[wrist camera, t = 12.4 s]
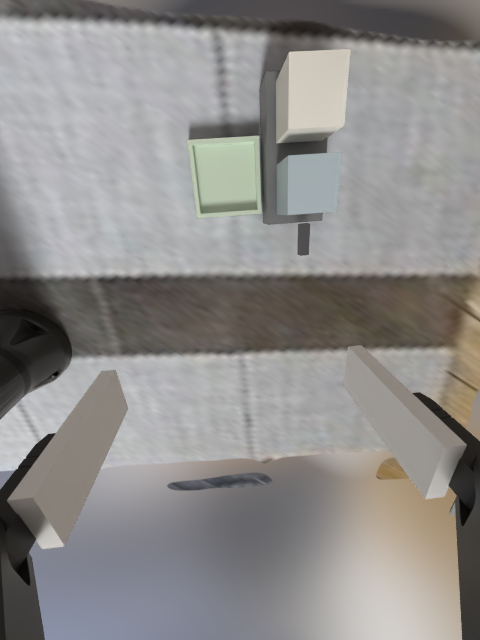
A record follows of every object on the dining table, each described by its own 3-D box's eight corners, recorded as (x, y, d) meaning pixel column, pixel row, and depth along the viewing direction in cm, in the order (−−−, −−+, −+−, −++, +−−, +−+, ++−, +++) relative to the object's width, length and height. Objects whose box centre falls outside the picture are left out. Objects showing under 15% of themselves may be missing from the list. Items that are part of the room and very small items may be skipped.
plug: (268, 99, 34) (289, 51, 24) (311, 97, 34) (350, 48, 24) (268, 151, 36) (288, 129, 26) (309, 149, 36) (343, 125, 26)
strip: (263, 248, 42) (279, 260, 31) (259, 90, 34) (278, 32, 23) (309, 244, 43) (340, 255, 32) (316, 87, 34) (362, 29, 23)
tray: (198, 218, 40) (197, 218, 38) (188, 143, 36) (187, 139, 34) (259, 213, 40) (261, 213, 39) (257, 139, 36) (259, 135, 34)
